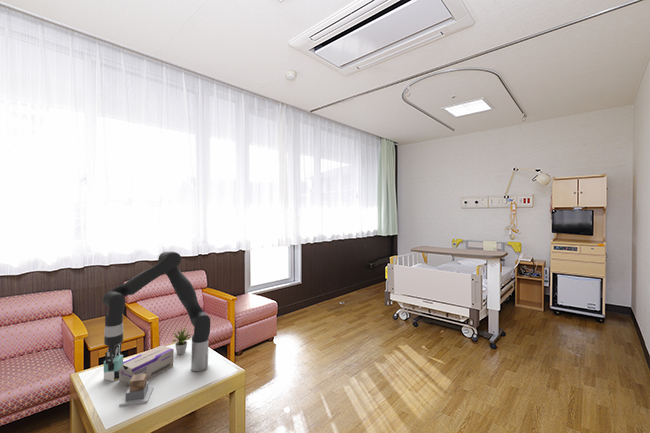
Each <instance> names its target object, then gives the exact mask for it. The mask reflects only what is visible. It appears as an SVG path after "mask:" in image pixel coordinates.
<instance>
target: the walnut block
mask: <svg viewBox="0 0 650 433" xmlns="http://www.w3.org/2000/svg"><path fill="white" fill-rule="evenodd" d="M147 382H148V380H147V373H146V374H137V375H133V377H132V379H131V380H130V391H137V390H144V387H145V385H146V383H147Z"/></svg>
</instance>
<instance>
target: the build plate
mask: <svg viewBox="0 0 650 433" xmlns="http://www.w3.org/2000/svg"><path fill="white" fill-rule="evenodd" d="M154 389H155V387H154V386H149V381H147V383H146V385H145V387H144V390H137V391H130V386H129V387H128V388H127V389H126V392H125V394H124V395H123V397H122V399H121V400H120V402H119V407H125V406H133V405H140V404H148V403H147V402H149V400H150V399H151V395H152V393H153V391H154Z"/></svg>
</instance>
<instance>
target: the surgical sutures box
mask: <svg viewBox="0 0 650 433" xmlns="http://www.w3.org/2000/svg"><path fill="white" fill-rule="evenodd" d="M174 351H175V350H174V348H171V347H170V346H166V345H163V344H162V345H159V346H156V347H154V348H152V349H150V350H147V351H145V352H143V353H140V354H138V355H136V356H134V357H131V358H129V359H126V360H125V361H124V360H123V365H122V367H121V368H120V369H119V379H118V383H120V384H121V385H124V386H125V387H128V388H129V386H130V380H131V379H132V377H133V375H137V374H146V373H147V381H149V380H150V379H152V378H154V377H156V376H158V375H159V374H162V373H163V372H166V371H167V370H169V369H171V368H173V367H174Z"/></svg>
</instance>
